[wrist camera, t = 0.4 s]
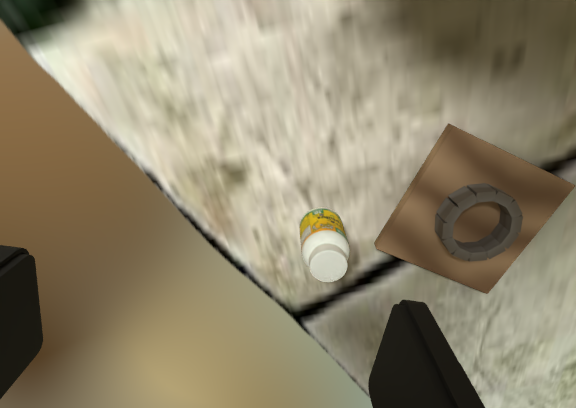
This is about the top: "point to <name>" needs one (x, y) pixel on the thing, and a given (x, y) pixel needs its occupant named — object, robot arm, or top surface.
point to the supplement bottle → (324, 244)
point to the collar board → (471, 210)
